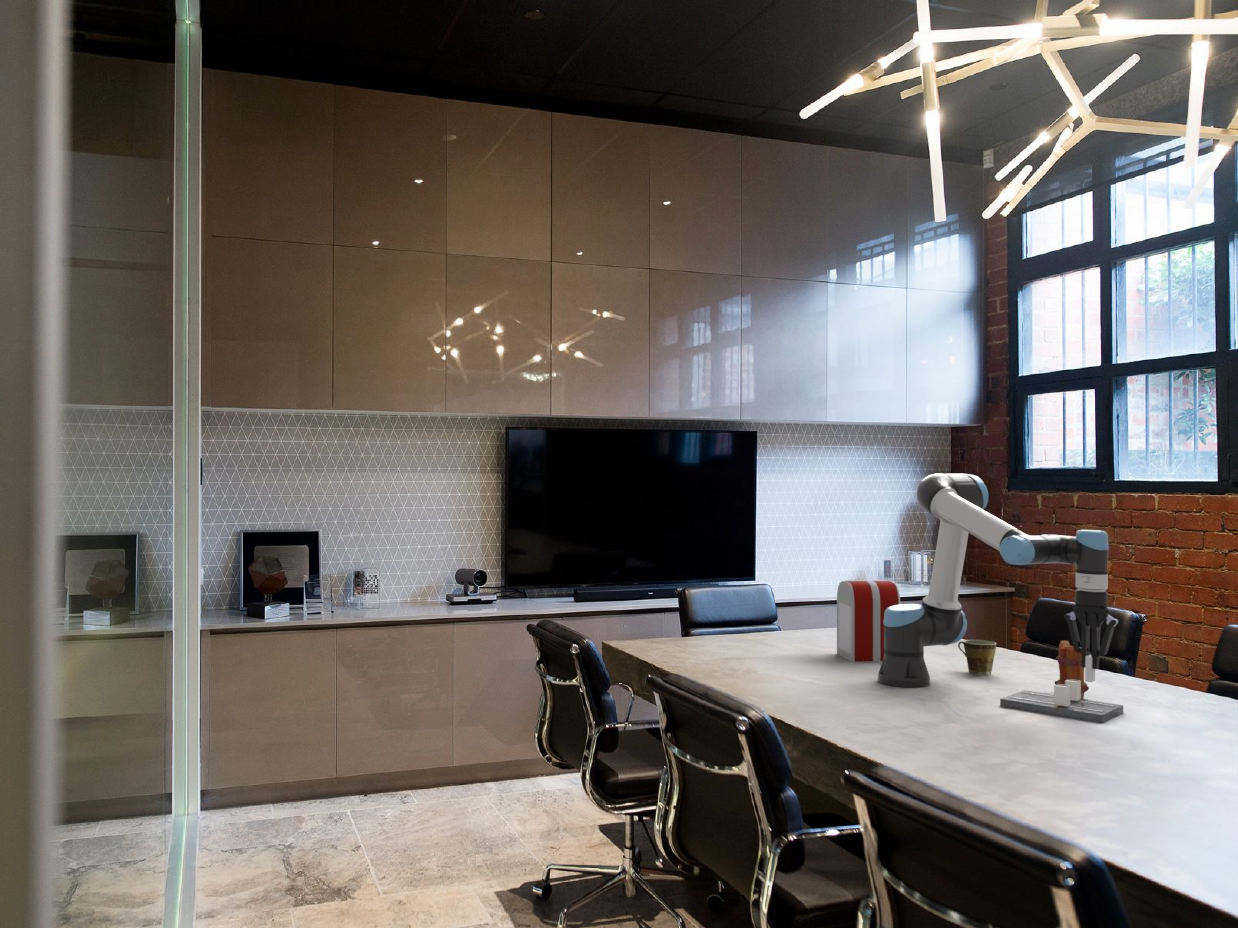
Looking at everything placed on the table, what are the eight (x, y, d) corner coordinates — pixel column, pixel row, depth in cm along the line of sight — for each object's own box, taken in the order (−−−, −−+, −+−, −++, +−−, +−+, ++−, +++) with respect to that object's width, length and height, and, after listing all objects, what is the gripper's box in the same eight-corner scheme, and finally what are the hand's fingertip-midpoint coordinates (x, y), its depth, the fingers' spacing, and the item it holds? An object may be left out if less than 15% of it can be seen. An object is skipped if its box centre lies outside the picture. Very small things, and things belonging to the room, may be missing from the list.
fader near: (1054, 704, 250) (1054, 684, 250) (1058, 702, 252) (1058, 683, 252) (1066, 706, 248) (1065, 686, 248) (1070, 704, 250) (1070, 684, 250)
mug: (1092, 701, 264) (1091, 647, 265) (1060, 700, 266) (1060, 646, 266) (1077, 690, 279) (1077, 639, 279) (1048, 689, 280) (1047, 638, 281)
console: (1000, 705, 258) (1000, 697, 258) (1024, 697, 269) (1024, 689, 269) (1102, 722, 240) (1102, 713, 240) (1123, 712, 251) (1123, 704, 251)
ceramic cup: (1003, 674, 304) (1002, 642, 304) (984, 677, 298) (983, 645, 298) (967, 667, 314) (967, 637, 315) (948, 670, 309) (948, 640, 309)
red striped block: (835, 653, 341) (835, 578, 342) (883, 652, 343) (883, 577, 344) (852, 661, 325) (852, 582, 325) (901, 661, 327) (901, 582, 327)
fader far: (1065, 699, 257) (1065, 679, 257) (1069, 697, 259) (1069, 678, 259) (1076, 700, 255) (1076, 681, 255) (1080, 699, 257) (1080, 679, 257)
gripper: (1059, 588, 248) (1058, 678, 247) (1113, 593, 238) (1112, 687, 238) (1070, 586, 253) (1069, 674, 253) (1123, 591, 244) (1122, 683, 244)
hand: (1090, 680), depth 246 cm, fingers closed
